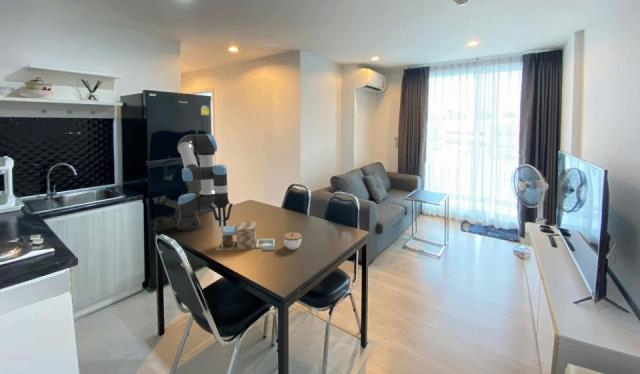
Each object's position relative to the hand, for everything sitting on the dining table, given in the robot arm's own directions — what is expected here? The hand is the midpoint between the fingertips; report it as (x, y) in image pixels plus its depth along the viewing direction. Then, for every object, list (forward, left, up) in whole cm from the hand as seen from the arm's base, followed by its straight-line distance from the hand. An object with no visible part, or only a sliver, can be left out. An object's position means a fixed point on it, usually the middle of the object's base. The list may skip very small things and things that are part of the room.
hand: (222, 231), depth 176 cm
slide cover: (+6, 0, -1) cm, 6 cm away
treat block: (+2, 0, -9) cm, 9 cm away
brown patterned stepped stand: (+6, 0, -11) cm, 12 cm away
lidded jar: (+40, -4, -11) cm, 42 cm away
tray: (+24, 0, -11) cm, 27 cm away
